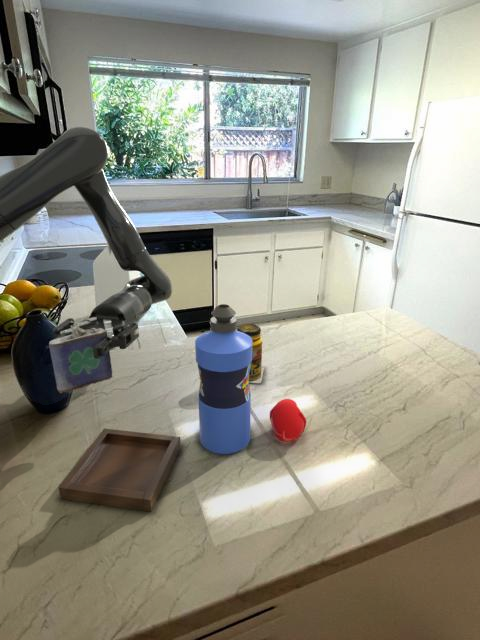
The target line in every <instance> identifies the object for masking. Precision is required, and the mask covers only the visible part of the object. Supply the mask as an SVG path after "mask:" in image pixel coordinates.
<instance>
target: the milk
mask: <svg viewBox="0 0 480 640" xmlns="http://www.w3.org/2000/svg"><path fill="white" fill-rule="evenodd" d="M92 272H93V273H92V274H93V286H94V287H93V288H94V299H95V307H96V306H98V305H99V304H101V303H102V302H104V301H105V300H107V299H108V298H109V297H111V296H112V295H114V294H116V293H119V292H120V291H122V290H123V289H124V287H125V285H126V283H127V282H129V281H131V280H132V279H135V278H138V277H141V276H142V275H141V272H139V271H124V270H123V269H122V268H121V267H120V266H119V264H118V262H117V260H116V258H115V256H114V254H113V253H112V251H111V249H110V247H109V245H108V243H107V242H106V247H105V248H103V250H102V251H101V252H100V253H99V254H98V255H97V256H96V257H95V259H94V260H93V264H92Z"/></svg>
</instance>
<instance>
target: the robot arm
mask: <svg viewBox="0 0 480 640" xmlns="http://www.w3.org/2000/svg"><path fill="white" fill-rule="evenodd" d="M108 157H109V150H108V145H107V142H106V140H105V139H104V137H103V136H102V135H101V134H100V133H99V132H97V131H96V130H94V129H92V128H89V127H84V126H74V127H71V128H68V129H66V130H65V131H64V132H63V133H61V135H60V136H59V137H58V138H57V139H56V140H54V141H53V142H52V143H51V144H49V146H47V147H46V148H45V149H44V150H42V151H41V152H40V153H38V154H37V155H36V156H35V157H33V158H32V159H30V160H29V161H27V162H24V163H23V164H21V165H20V166H17V167H15V168H13V169H11V170H9V171H6V172H4V173H3V174H1V175H0V242H2V241H3V240H5V239H6V238H8V237H9V236H11V235H12V234H13V233H15V232H16V231H18V230H19V229H20V228H22V227H23V226H24V225H25V224H26V223H28V222H29V221H30V220H31V219H33V218H34V217H36V215H38V214H39V213H40V212H41V211H42V210H43V209H44V208H45V207H47V205H48V204H50V202H52V201H53V200H54V199H55V198H57V197H58V196H59V195H60V194H62V193H64V192H65V191H67V190H69V189H70V188H73V187H74V188H75V189H76V191H77V192H78V193H79V195H80V196H81V198H82V200H83V201H84V202H85V204H86V206H87V208H88V210H89V211H90V212H91V214H92V217H93V218H94V220H95V222H96V224H97V226H98V227H99V229H100V231H101V233H102V235H103V237H104V239H105V241H106V244H107V243H108V245H109V247H110V249H111V251H112V253H113V254H114V256H115V258H116V260H117V262H118V264H119V266H120V267H121V268H122V269H123V270H124V271H139V272H140V274H141V275H140V276H141V277H138V278H135V279H132V280H131V281H129V282H127V283H126V285H125V287H124V289H123V290H122V291H120V292H119V293H116V294H114V295H112V296H111V297H109V298H108V299H107V300H105V301H104V302H102V303H101V304H99V305H98V306H96V305H95V307H94V308H93V309H92V311H91V313H90V315H89V317H88V318H86V319H83V320H82V321H80V322H76V321H75V320H74V318H73V317H68V318H66V319H65V320H64V321H62V322H61V323H59V324H58V325H57V326H56V327H54V328H53V329H52V334H53V340H54V339H57V338H61V337H64V336H68V335H71V334H72V331H73V330H72V327H73V326H74V325H73V324H76V323H78V325H79V328H82V329H84V330H88V329H89V330H93V329H92V328H95V329H99V328H102V329H104V330H106V331H107V335H106V337H107V338H104V337H103V338H102V339H101V340H100V341H99V342H98V343H97V344H95V345H94V346H93V354H94V358H96V359H100V358H101V357H102V356H104V355H106V354H107V353H108V352H110V351H114V350H115V349H116V348H119V349H120V350H125V349H127V348H129V346H131V344H133V343H134V342H135V341H136V340H137V339H138V338H140V331H139V324H138V323H139V322H140V320H141V319H142V318H143V317H144V316H145V315H146V314H147V313H148V312H149V311H150V309H151V307H152V305H155V304H157V303H161V302H164V301H167V300H169V299H170V298H171V296H172V294H173V284H172V282H171V280H170V277H169V276H168V274H166V272H165V270H163V269H162V268H161V266H159V265H158V263H157V262H156V261H155V260H154V258H153V257H152V256H151V254H150V253H149V251H148V250H147V248H146V246H145V244H144V242H143V239H142V238H141V236H140V233H139V231H138V230H137V228H136V226H135V224H134V223H133V222H132V220H131V218H130V217H129V216H128V214H127V213H126V211H125V210H124V208H123V207H122V206H121V205H120V203H119V201H118V200H117V198H116V196H115V195H114V193H113V191H112V189H111V187H110V185H109V183H108V181H107V177H106V175H105V172H104V168H105V167H106V165H107V162H108ZM71 326H72V327H71Z"/></svg>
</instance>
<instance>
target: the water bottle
mask: <svg viewBox="0 0 480 640" xmlns="http://www.w3.org/2000/svg"><path fill="white" fill-rule="evenodd" d="M210 315H212V316H211V318H210V320H209V321H210V330H209V331H207V332H204V333H202V334H200V335H198V336H197V338H195V341H194V347H195V348H194V349H195V350H194V351H195V362H196V364H197V369H198V374H199V388H198V389H199V390H198V395H197V397H198V398H197V399H198V400H197V401H198V423H199V424H198V425H199V441H200V444H201V445H202V446H203V448H205V450H207V451H209V452H211V453H215V454H218V455H230V454H235V453H237V452H239V451H242V450H243V449H245V448H246V447H247V446H248V445H249V443H250V440H251V409H252V407H251V405H252V404H251V403H252V401H251V400H252V399H251V396H252V395H251V389H250V383H249V381H248V380H249V373H250V366H251V361H252V338H251V337H250V336H248V335H247V334H245V333H242V332H239V331H237V328H238V318H237V317H236V316H235V315H237V312H236V311H235V310H234V309H233V308H232V307H231V306H230V305H228V304H224V303H223V304H219V305H217V306H216V307H215V308H214V309H213V310H211V314H210Z"/></svg>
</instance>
